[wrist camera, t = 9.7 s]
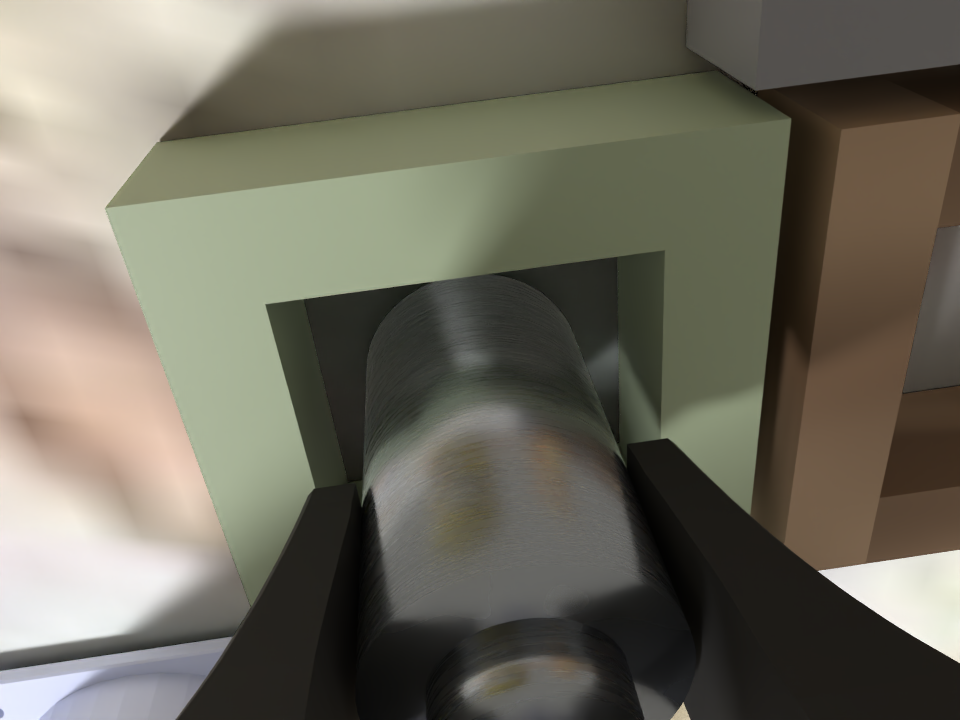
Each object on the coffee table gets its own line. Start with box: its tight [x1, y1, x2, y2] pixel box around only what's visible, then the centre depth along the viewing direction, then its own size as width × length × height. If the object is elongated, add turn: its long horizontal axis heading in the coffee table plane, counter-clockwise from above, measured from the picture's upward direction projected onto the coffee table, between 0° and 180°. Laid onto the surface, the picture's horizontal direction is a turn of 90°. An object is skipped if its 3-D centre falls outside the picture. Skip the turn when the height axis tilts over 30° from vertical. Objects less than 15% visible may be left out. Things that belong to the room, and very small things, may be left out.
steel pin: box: [355, 274, 696, 720], centre depth 12 cm, size 4×4×8 cm
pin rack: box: [105, 71, 791, 607], centre depth 15 cm, size 10×10×3 cm
